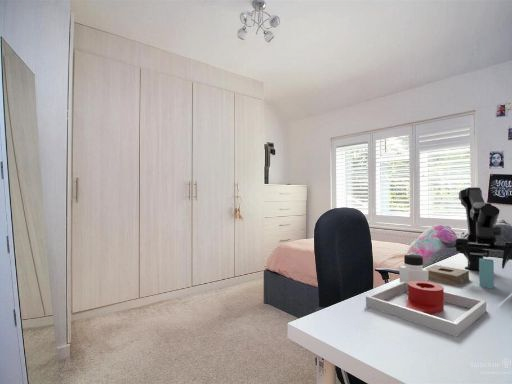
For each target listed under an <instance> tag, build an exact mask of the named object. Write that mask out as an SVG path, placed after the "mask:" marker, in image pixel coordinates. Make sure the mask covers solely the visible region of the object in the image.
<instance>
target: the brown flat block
mask: <svg viewBox="0 0 512 384" xmlns="http://www.w3.org/2000/svg"><path fill="white" fill-rule="evenodd" d="M425 269H426V270H428V271H429V281H433V282H434V281H435V282H439V283H444V284H447V285H448V284H449V285H453V286H456V287H458V286H461V285H462V284H463V283H466V282H468V281H469V280H470V271H469V269H461V268H455V267H449V266H442V265H439V264H434V265H431V266H429V267H426V268H425Z"/></svg>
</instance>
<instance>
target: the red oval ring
mask: <svg viewBox="0 0 512 384" xmlns="http://www.w3.org/2000/svg"><path fill="white" fill-rule="evenodd" d="M444 291H445V290H444V286H442V285H440V284H439V283H435V282H431V281H429V282H427V281H410V282H408V292H407V300H406V304H405V307H406V308H410V309H413V310H416V311H419V312H423V313H426V314H429V315H432V316H435V315H436V314H440V313H443V312H444V310H445V309H444Z"/></svg>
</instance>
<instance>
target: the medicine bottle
mask: <svg viewBox="0 0 512 384" xmlns="http://www.w3.org/2000/svg"><path fill="white" fill-rule="evenodd" d="M403 259H404V261H403V262H404V263H403V264H404V265H400V266H399V283H401V282H407V283H408V282H410V281H427V282H430V280H429V271H428V270H426V268H423V267H424V257H423V256H421V255H419V254H418V253H417V254H415V253H407V254H404V258H403Z"/></svg>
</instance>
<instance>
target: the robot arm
mask: <svg viewBox="0 0 512 384" xmlns="http://www.w3.org/2000/svg"><path fill="white" fill-rule="evenodd" d="M458 199H459V200H460V204H461V206H462V207H464V208H465V215H466V222H467V231H468V235H467V236H466V238H462V237H458V238H457V237H456V239H455V251H456V252H459V253H460V254H463V256H464V257H465V258H466V259H467V266H465V267H464V270H472V271H478V272H479V258H481V259H484V258H489V257H490V256H489V255H490V251H494V252H503V253H502V255H503V256H502V260H501V261H502V262H501V268H502V269H503V270H504V268H505V267H506V265H507V263H508V262H509V261H510V260H511V259H512V242H511V241H504V245H501V244H500V245H498V244H496V243H497V239H496V238H498V237H502V228H501V227H500V226H495V225H496V224H497V220H498V217H499V215H500V211H501V210H500V209H499V208H498V207H497V206H495V205H493V204H492V203H487V202H485V199H484V198H483V192H482V189H481V187H472V186H471V187H466V188H464V189H461V190H460V191H459V192H458Z"/></svg>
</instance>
